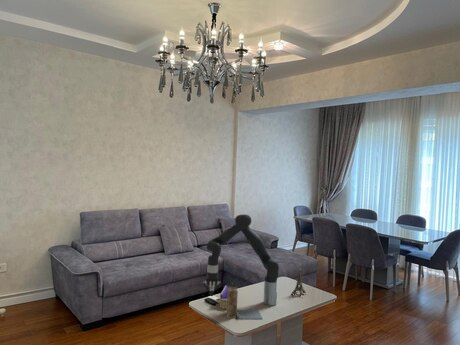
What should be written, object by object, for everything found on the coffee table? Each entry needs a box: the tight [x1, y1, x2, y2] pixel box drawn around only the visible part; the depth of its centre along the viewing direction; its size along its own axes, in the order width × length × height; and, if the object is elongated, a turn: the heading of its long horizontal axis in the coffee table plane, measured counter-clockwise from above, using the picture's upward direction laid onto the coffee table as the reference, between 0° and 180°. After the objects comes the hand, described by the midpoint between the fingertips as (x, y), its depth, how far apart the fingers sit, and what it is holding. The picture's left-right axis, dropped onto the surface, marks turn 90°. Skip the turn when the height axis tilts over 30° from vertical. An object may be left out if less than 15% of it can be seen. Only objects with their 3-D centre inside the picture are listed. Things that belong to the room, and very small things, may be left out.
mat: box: [236, 309, 263, 320], centre depth 240 cm, size 17×14×2 cm
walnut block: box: [226, 286, 238, 318], centre depth 238 cm, size 6×8×18 cm
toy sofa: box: [219, 285, 229, 309], centre depth 259 cm, size 21×9×10 cm, turn 169°
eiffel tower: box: [291, 268, 307, 296], centre depth 284 cm, size 11×11×25 cm
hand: (211, 295), depth 237 cm, fingers closed
